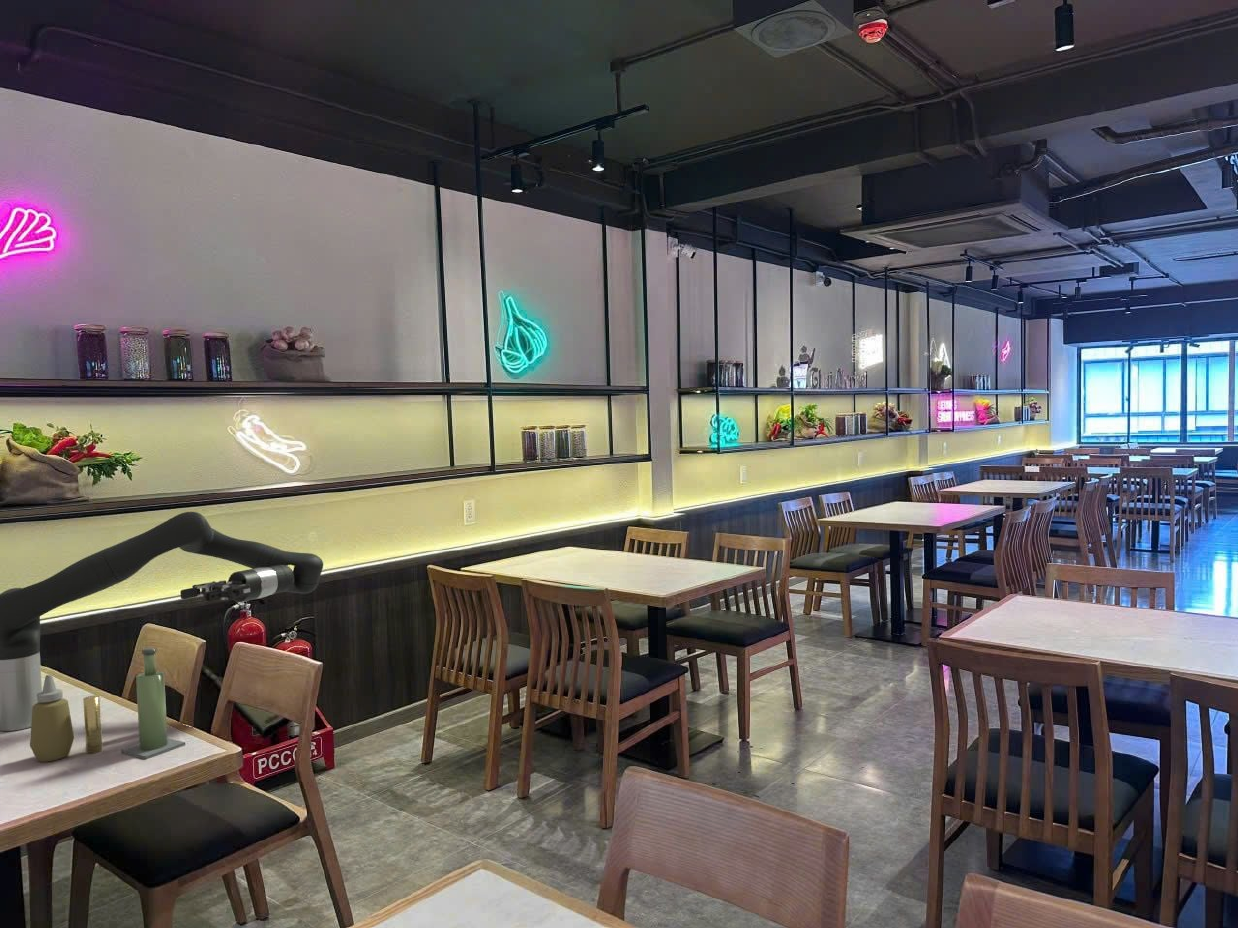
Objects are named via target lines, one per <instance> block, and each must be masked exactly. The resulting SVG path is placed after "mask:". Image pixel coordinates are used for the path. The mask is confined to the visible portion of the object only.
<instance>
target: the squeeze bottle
mask: <svg viewBox="0 0 1238 928" xmlns="http://www.w3.org/2000/svg"><path fill="white" fill-rule="evenodd" d="M37 702H38V703H36V704H35V705H34V706H33V707H32V721H31V727H30V736H29V737H30V740H29V741H30V742H29V746H30V749H31V751H32V753H33V756H34V757H35V759H36V761H37V762H43V763H44V762H45V763H46V762H52V761H57V760H61V759H64V758H65V757H67V756H69V754H70V752H71V749H72V746H73V743H74V740H75V733H74V728H73V723H72V722H73V721H72V716H71V711H70V707H69V700H68V699H66V698H64V697H63V689H61V688H59V689H58V688H57V686H56V683H55V681H54V677H53V674H47V675H45V677H44V681H43V685H42V692H39V693H38V694H37Z"/></svg>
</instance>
